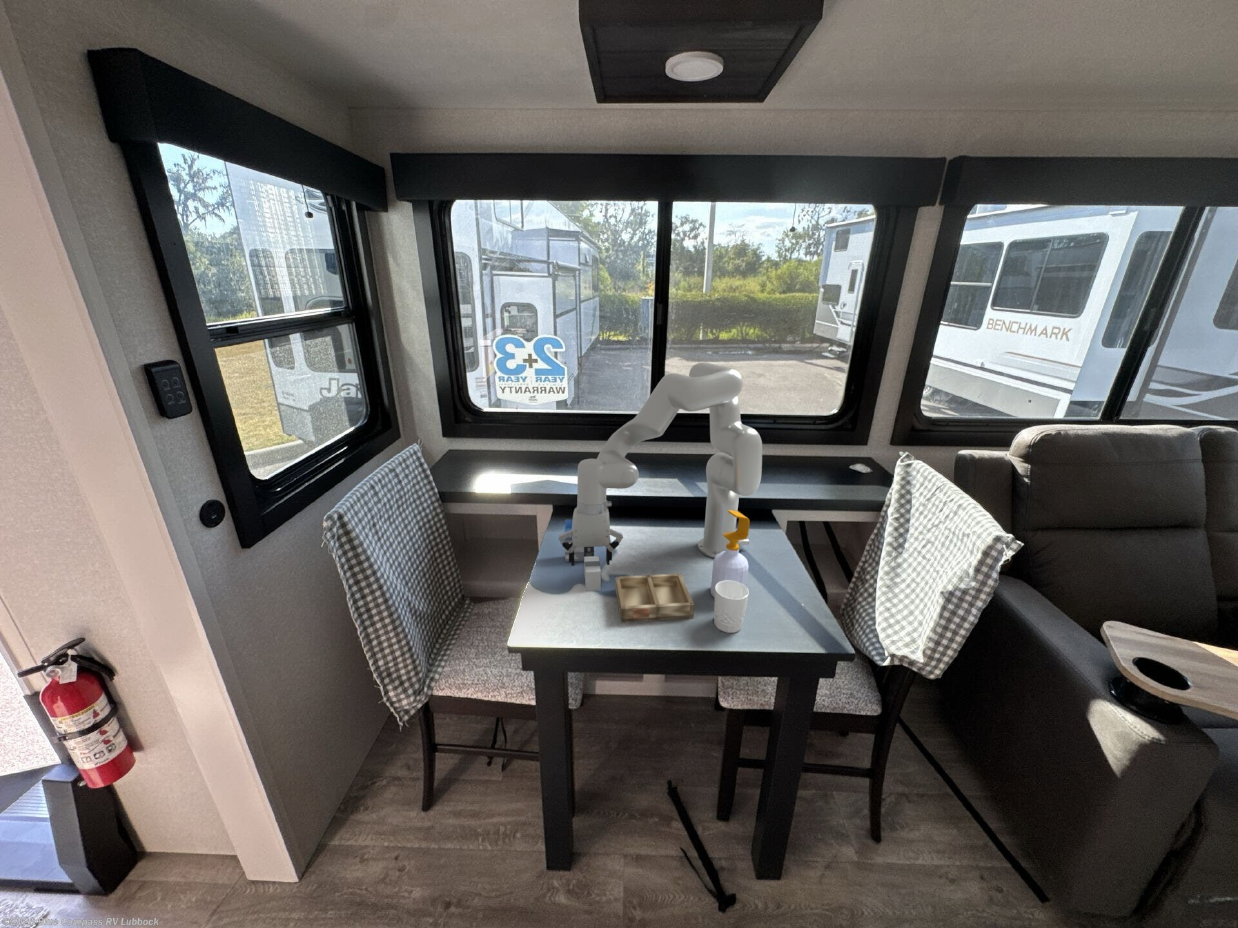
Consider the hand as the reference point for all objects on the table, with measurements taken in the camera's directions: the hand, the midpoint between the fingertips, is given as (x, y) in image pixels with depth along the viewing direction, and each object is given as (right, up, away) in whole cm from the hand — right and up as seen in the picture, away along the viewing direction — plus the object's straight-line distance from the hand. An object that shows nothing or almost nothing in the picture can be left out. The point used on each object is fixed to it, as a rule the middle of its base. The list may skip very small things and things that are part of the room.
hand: (590, 562), depth 130 cm
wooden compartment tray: (+17, -9, -6) cm, 20 cm away
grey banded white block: (0, -6, +2) cm, 6 cm away
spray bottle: (+37, -8, -2) cm, 38 cm away
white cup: (+35, -12, -13) cm, 39 cm away
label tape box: (-4, -2, +14) cm, 15 cm away
